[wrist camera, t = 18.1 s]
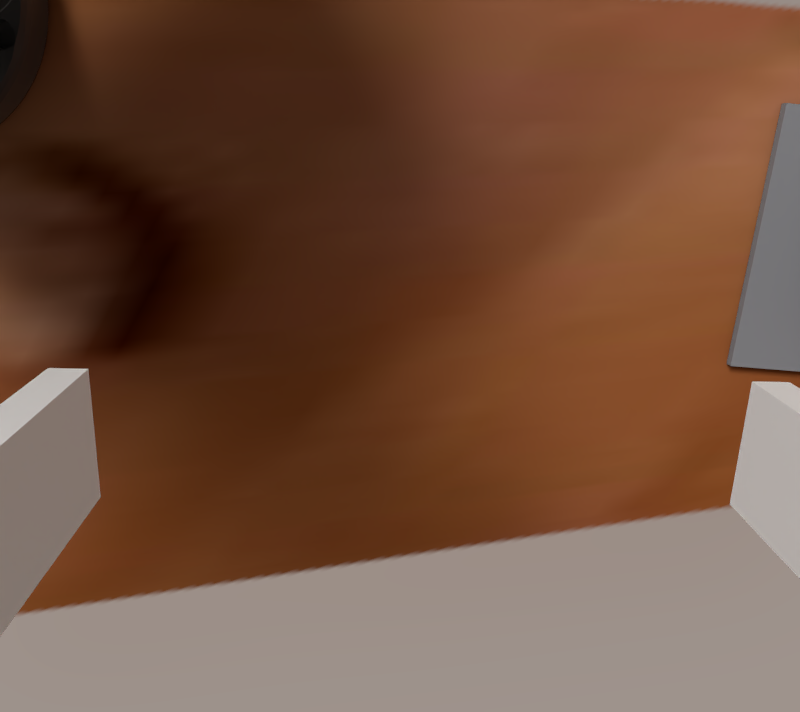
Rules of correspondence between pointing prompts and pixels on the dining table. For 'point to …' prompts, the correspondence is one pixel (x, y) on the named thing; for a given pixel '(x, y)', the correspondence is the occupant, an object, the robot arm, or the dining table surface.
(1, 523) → the robot arm
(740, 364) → the rubber mat
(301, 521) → the dining table surface
